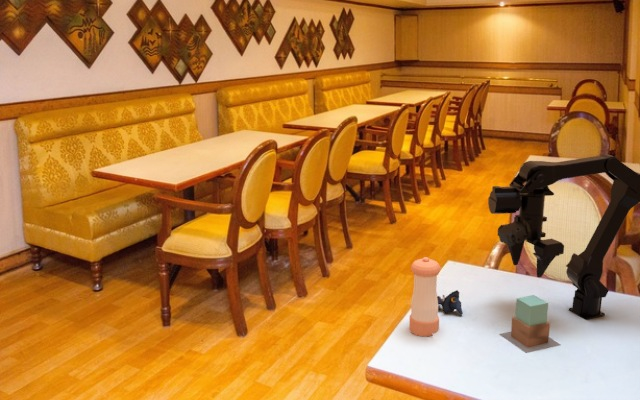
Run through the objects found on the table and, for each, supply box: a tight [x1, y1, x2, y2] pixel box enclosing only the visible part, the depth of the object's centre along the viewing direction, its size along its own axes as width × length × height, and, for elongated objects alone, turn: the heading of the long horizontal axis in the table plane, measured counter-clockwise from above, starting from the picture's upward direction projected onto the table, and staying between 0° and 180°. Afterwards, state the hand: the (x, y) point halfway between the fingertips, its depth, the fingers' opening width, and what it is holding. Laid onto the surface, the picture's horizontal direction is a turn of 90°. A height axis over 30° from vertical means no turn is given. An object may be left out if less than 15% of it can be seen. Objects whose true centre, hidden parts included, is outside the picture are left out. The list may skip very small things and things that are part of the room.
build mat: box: [498, 331, 562, 354], centre depth 145 cm, size 10×10×1 cm
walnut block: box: [510, 316, 551, 347], centre depth 144 cm, size 6×6×5 cm
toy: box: [437, 289, 464, 318], centre depth 163 cm, size 8×7×15 cm
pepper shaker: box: [408, 256, 441, 337], centre depth 149 cm, size 7×7×19 cm
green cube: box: [514, 294, 549, 326], centre depth 143 cm, size 5×5×5 cm
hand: (527, 270), depth 155 cm, fingers open, 9 cm apart
